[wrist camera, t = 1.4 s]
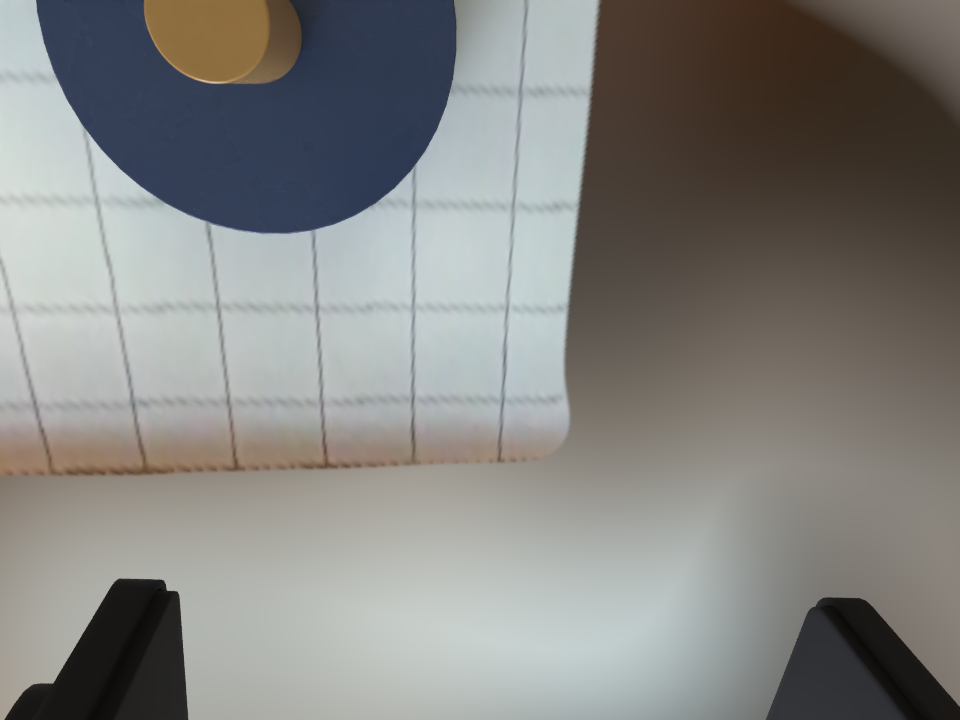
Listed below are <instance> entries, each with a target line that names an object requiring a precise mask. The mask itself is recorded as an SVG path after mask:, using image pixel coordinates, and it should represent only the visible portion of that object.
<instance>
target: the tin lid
mask: <svg viewBox="0 0 960 720" xmlns="http://www.w3.org/2000/svg"><path fill="white" fill-rule="evenodd" d="M36 2H37V13H38V17H39V22H40V26H41V31H42V36H43V40H44V44H45V47H46V50H47V53H48V56H49V59H50V62H51V65H52V68H53V70H54V73H55V75H56V77H57V79H58V81H59V84H60V86H61V88H62V90H63V92H64V94H65V96H66V98H67V100H68V102H69V104H70V105H71V107H72V109H73V110H74V112H75V113H76V115H77V117H78V118H79V120H80V122H81V123H82V125H83V126H84V128H85V129H86V130H87V131H88V133H89V134H90V135H91V137H92V138H93V139H94V140H95V142H96V143H97V144H98V146H99V147H100V148H101V149H102V150H103V151H104V153H105V154H106V155H107V156H108V157H109V158H110V159H111V160H112V161H113V162H114V163H115V164H116V165H117V166H118V167H119V168H120V169H121V170H122V171H123V172H124V173H126V174H127V175H128V176H129V177H130V178H131V179H133V180H134V181H135V182H136V183H137V184H139V185H140V186H141V187H142V188H144V189H145V190H147V191H148V192H150V193H151V194H153V195H154V196H156V197H157V198H159V199H160V200H162V201H163V202H165V203H166V204H168V205H170V206H172V207H174V208H176V209H178V210H180V211H182V212H184V213H186V214H187V215H189V216H192V217H195V218H197V219H200V220H203V221H205V222H208V223H211V224H213V225H217V226H221V227H225V228H229V229H233V230H237V231H244V232H252V233H260V234H289V233H297V232H304V231H311V230H315V229H319V228H322V227H326V226H330V225H333V224H336V223H338V222H341V221H343V220H345V219H348V218H350V217H352V216H355V215H357V214H358V213H360V212H362V211H363V210H365V209H367V208H368V207H370V206H372V205H373V204H375V203H376V202H378V201H379V200H380V199H381V198H383V197H384V196H385V195H386V194H388V193H389V192H390V191H392V190H393V189H394V188H395V187H396V186H397V185H398V184H399V183H400V182H401V181H402V180H403V179H404V178H405V176H406V175H407V174H408V173H409V172H410V171H411V170H412V169H413V167H414V166H415V164H416V163H417V162H418V160H419V159H420V157H421V156H422V155H423V153H424V152H425V150H426V149H427V147H428V145H429V143H430V141H431V139H432V137H433V136H434V134H435V132H436V130H437V128H438V125H439V123H440V120H441V118H442V115H443V112H444V110H445V107H446V105H447V100H448V96H449V92H450V88H451V84H452V80H453V74H454V65H455V57H456V15H455V7H454V0H36Z"/></svg>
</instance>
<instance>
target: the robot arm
mask: <svg viewBox="0 0 960 720" xmlns="http://www.w3.org/2000/svg"><path fill="white" fill-rule="evenodd" d="M5 720H188V709H187V695H186V681H185V668H184V654H183V640H182V626H181V612H180V599H179V594H178V592H176V591H167V589H166V584H165V582H164V581H163V580H154V579H153V580H152V579H118V580H116V581H115V582H114V584H113V585H112V586H111V588H110V589H109V591H108V593H107V594H106V596H105V598H104V600H103V601H102V603H101V605H100V606H99V608H98V610H97V611H96V613H95V615H94V616H93V618H92V620H91V622H90V623H89V625H88V626H87V628H86V630H85V631H84V633H83V635H82V636H81V638H80V640H79V642H78V643H77V645H76V647H75V648H74V650H73V651H72V653H71V655H70V657H69V658H68V660H67V661H66V663H65V665H64V666H63V668H62V670H61V671H60V673H59V675H58V676H57V678H56V680H55V681H54V683H53V684H34V685H32V686H30V687H29V688H28V689H26V690H25V691H24V692H23V693H22V695H21V696H20V697H19V699H18V700H17V701H16V703H15V704H14V706H13V707H12V709H11V710H10V712H9V713H8V715H7V717H6V718H5ZM766 720H960V707H959V706H958V705H957V703H956V702H955V701H954V700H953V699H952V698H951V696H950V695H949V694H948V693H947V692H946V691H945V689H944V688H943V687H942V686H941V685H940V684H939V683H938V682H937V680H936V679H935V678H934V677H933V676H932V675H931V673H930V672H929V671H928V670H927V669H926V668H925V666H924V665H923V664H922V663H921V662H920V661H919V660H918V659H917V657H916V656H915V655H914V654H913V653H912V652H911V650H910V649H909V648H908V647H907V646H906V645H905V644H904V642H903V641H902V640H901V639H900V638H899V637H898V636H897V634H896V633H895V632H894V631H893V630H892V629H891V627H890V626H889V625H888V624H887V623H886V622H885V621H884V619H883V618H882V617H881V616H880V615H879V614H878V613H877V611H876V610H875V609H874V608H873V607H872V606H871V605H870V604H869V603H868V602H867V601H865V600H862V599H860V598H822V599H821V600H820V601H819V602H818V603H817V605H816V606H815V607H813V608H811V609H810V610H809V611H808V614H807V616H806V618H805V621H804V623H803V626H802V628H801V631H800V634H799V636H798V639H797V641H796V644H795V646H794V649H793V652H792V654H791V657H790V659H789V662H788V664H787V667H786V669H785V672H784V675H783V677H782V680H781V682H780V685H779V687H778V690H777V693H776V695H775V698H774V700H773V703H772V706H771V708H770V711H769V713H768V716H767V718H766Z"/></svg>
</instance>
